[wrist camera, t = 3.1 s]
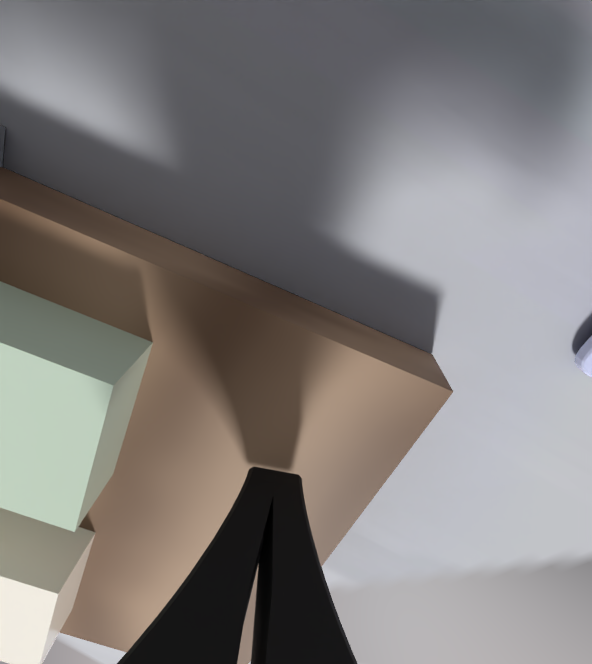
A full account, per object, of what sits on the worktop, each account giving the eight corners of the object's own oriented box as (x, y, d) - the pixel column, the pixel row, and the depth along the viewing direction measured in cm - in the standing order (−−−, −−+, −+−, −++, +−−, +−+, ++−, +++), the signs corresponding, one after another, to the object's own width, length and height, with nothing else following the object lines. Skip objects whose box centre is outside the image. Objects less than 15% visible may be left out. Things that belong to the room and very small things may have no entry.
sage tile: (152, 342, 10) (113, 385, 8) (113, 473, 12) (74, 532, 10) (-48, 262, 9) (-142, 287, 7) (-53, 415, 11) (-127, 465, 9)
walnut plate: (432, 354, 11) (453, 391, 10) (241, 631, 18) (232, 683, 17) (2, 167, 10) (-69, 169, 8) (-29, 546, 17) (-72, 593, 15)
